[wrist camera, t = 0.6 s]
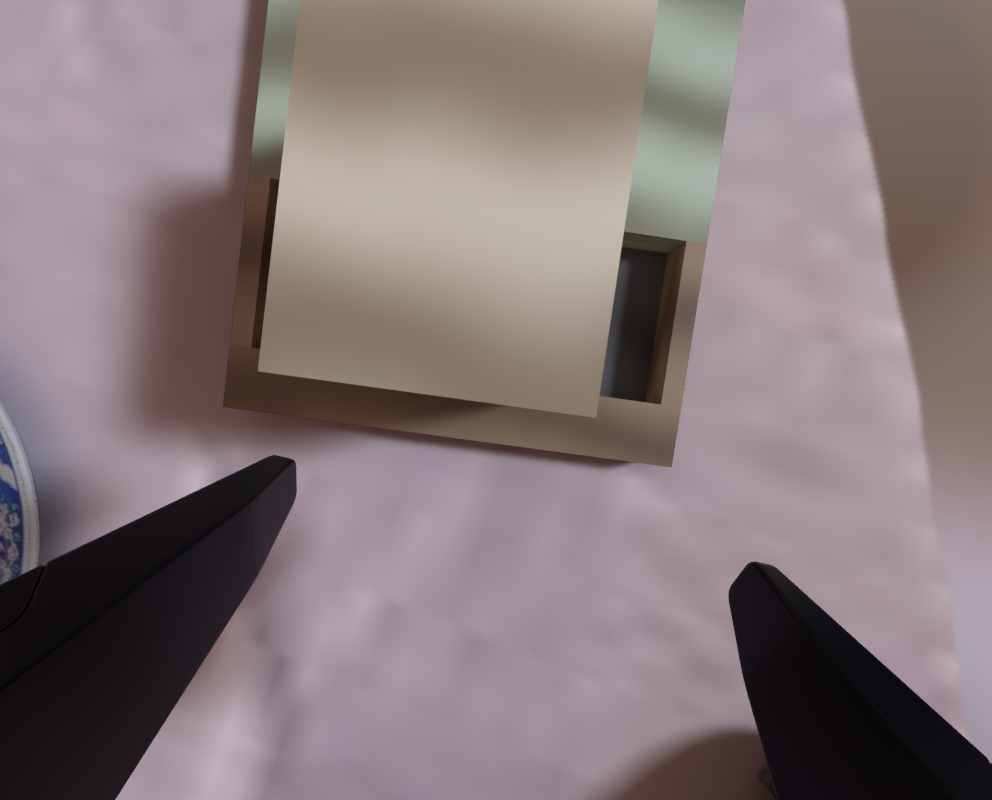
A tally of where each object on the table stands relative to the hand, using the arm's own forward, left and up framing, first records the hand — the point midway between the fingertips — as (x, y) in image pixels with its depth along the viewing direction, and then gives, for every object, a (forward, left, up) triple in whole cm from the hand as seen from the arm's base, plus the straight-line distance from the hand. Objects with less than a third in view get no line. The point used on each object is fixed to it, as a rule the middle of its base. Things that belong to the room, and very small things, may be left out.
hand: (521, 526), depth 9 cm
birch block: (+3, +8, -13) cm, 16 cm away
